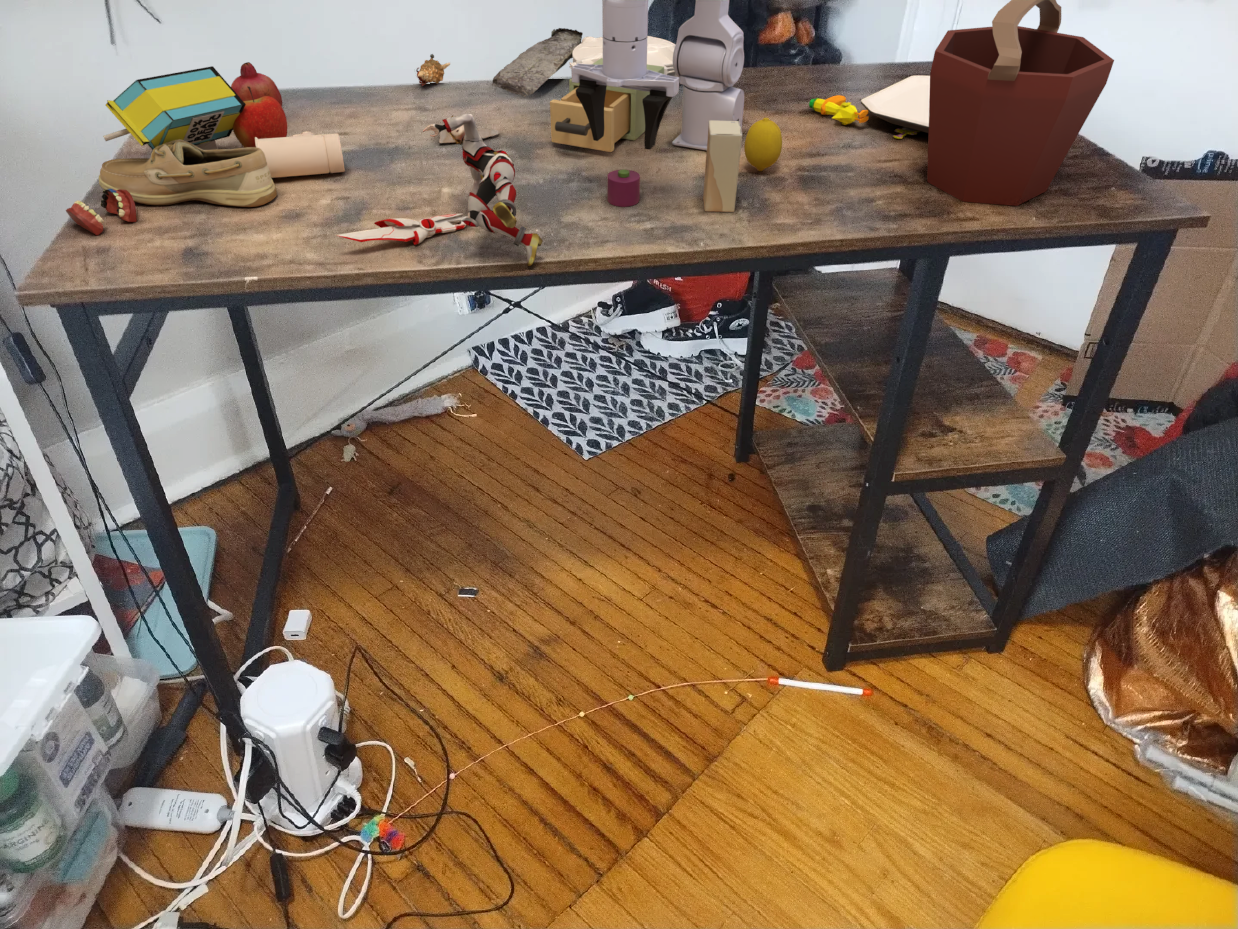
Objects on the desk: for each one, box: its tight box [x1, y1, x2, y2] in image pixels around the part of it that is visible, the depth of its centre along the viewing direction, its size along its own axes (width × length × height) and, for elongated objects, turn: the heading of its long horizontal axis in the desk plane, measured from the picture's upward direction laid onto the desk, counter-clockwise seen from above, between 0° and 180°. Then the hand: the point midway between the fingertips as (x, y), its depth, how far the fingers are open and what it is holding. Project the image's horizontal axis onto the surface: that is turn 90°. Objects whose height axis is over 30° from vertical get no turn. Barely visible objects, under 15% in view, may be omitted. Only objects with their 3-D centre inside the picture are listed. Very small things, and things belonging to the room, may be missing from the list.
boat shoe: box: [98, 140, 278, 208], centre depth 124 cm, size 25×9×8 cm, turn 83°
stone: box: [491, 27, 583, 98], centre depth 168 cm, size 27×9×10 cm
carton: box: [102, 65, 246, 151], centre depth 126 cm, size 7×8×18 cm
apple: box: [232, 86, 288, 148], centre depth 135 cm, size 8×8×10 cm
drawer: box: [549, 86, 631, 153], centre depth 140 cm, size 15×10×6 cm
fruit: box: [230, 61, 283, 108], centre depth 144 cm, size 8×8×10 cm
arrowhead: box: [438, 127, 500, 144], centre depth 144 cm, size 5×1×10 cm
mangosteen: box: [606, 168, 641, 208], centre depth 125 cm, size 5×5×4 cm
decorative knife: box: [892, 126, 922, 140], centre depth 148 cm, size 12×1×5 cm
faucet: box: [255, 130, 346, 179], centre depth 133 cm, size 6×12×12 cm
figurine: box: [414, 53, 451, 88], centre depth 164 cm, size 14×5×4 cm, turn 148°
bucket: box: [926, 0, 1115, 207], centre depth 124 cm, size 24×22×25 cm
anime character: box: [335, 113, 543, 267], centre depth 112 cm, size 23×16×25 cm
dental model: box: [65, 189, 138, 236], centre depth 119 cm, size 6×4×8 cm
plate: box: [860, 74, 930, 134], centre depth 151 cm, size 29×29×2 cm
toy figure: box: [808, 94, 870, 126], centre depth 151 cm, size 7×4×12 cm
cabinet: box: [568, 58, 664, 141], centre depth 148 cm, size 13×12×8 cm
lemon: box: [743, 117, 783, 172], centre depth 132 cm, size 6×6×8 cm
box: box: [702, 120, 743, 213], centre depth 122 cm, size 5×4×11 cm
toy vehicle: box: [569, 35, 680, 83], centre depth 166 cm, size 23×25×6 cm
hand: (623, 142), depth 121 cm, fingers open, 7 cm apart
